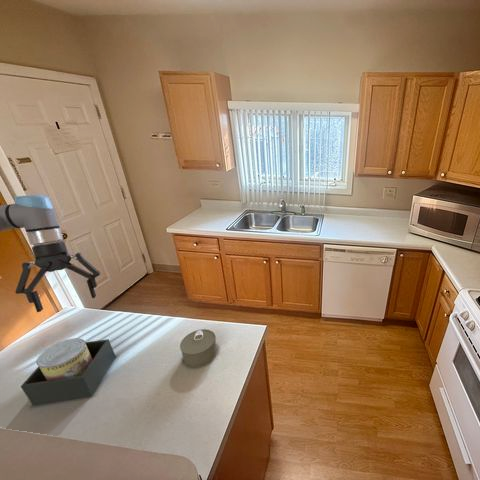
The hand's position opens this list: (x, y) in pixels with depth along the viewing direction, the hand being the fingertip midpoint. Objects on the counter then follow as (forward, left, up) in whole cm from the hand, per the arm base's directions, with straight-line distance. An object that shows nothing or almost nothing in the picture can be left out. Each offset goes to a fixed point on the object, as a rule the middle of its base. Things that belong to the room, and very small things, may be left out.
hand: (68, 303), depth 86 cm
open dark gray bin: (+2, -12, -23) cm, 26 cm away
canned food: (+2, -12, -22) cm, 25 cm away
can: (+40, -9, -23) cm, 47 cm away
